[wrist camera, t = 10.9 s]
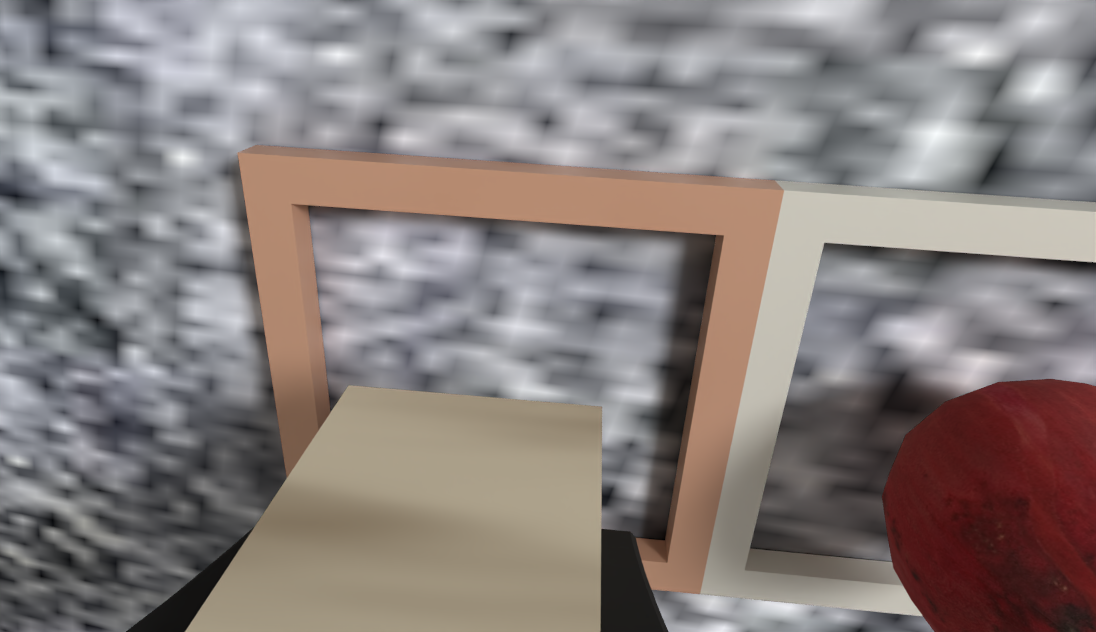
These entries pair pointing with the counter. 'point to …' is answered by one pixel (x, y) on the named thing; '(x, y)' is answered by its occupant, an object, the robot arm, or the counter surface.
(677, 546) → the terracotta frame
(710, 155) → the counter surface
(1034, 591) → the onion
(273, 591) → the birch block
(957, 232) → the cream frame
